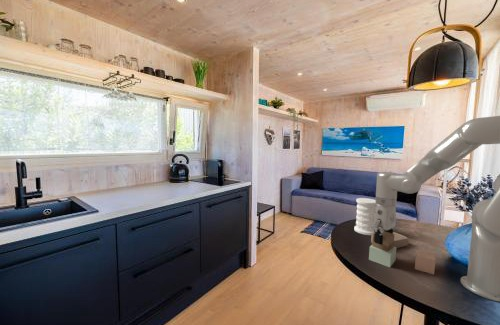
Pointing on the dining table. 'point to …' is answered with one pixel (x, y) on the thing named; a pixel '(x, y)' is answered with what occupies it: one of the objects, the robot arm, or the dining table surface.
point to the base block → (382, 256)
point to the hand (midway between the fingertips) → (383, 240)
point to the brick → (397, 240)
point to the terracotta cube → (425, 261)
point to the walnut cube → (385, 242)
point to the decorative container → (365, 216)
